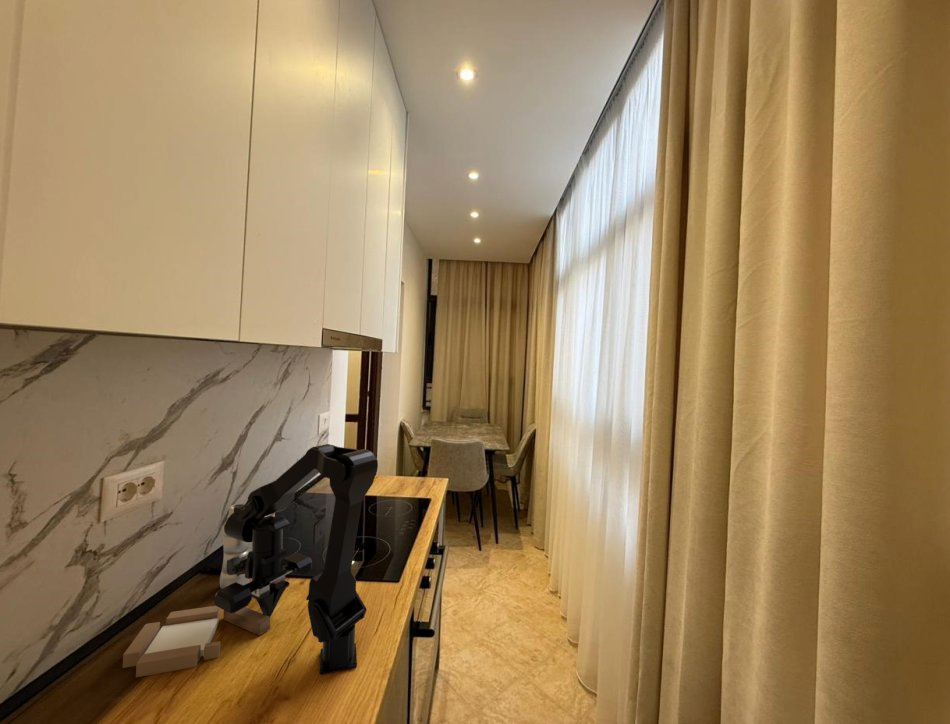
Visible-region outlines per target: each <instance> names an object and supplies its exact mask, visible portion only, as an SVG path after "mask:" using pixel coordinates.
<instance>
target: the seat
mask: <svg viewBox="0 0 950 724" xmlns="http://www.w3.org/2000/svg"><path fill="white" fill-rule="evenodd" d="M220 611H221V608H219V607H217V606H215V605H212V606H205V607H199V608H198V607H197V608H191V609H190V608H189V609H183V610H177V611H171V612H170V613H169V614H168V616H167V617H166V623H165V625H162V626H161V622H160V621H157V622H151V623H145V625H143V627H142V628H141V629H140V631H139V632H138V634H137V635H136V636H135V638H134V639H133V640H132V642H131V643H130V644H129V646H128V647H127V649H126V650H125V652H124V653H123V654H122V655H123V656H122V669H125V668H131V667H135V669H136V670H135V678H140V677H145V676H146V677H147V676H152V675H158V674H163V673H168V672H175V671H179V670H184V669H185V670H186V669H190V668H197V666H198V663H199V661H200V659H201V657H203V661H207V660H212V659H213V660H214V659H218V658H219V657H220V655H221V641H220V640H219V641H214V642H211V641H212V639H213V637H214V635H215V633H216V630H217V628H218V626H219V623H220V615H221V614H220V613H221V612H220Z"/></svg>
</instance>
